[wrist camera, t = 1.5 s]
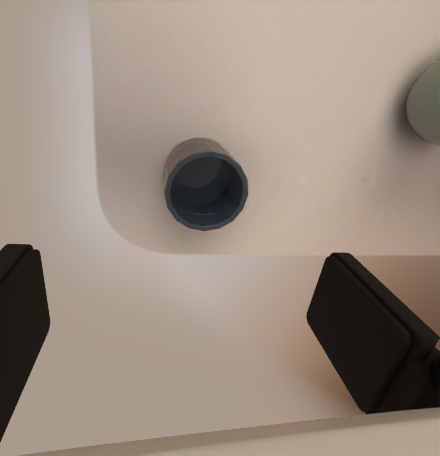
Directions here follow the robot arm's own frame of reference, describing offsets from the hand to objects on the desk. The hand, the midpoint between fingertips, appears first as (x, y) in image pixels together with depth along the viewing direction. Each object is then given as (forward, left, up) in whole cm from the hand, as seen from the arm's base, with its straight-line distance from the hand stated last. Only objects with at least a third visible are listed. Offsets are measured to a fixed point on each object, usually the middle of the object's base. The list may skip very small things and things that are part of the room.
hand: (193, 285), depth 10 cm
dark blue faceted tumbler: (+3, 0, -18) cm, 18 cm away
